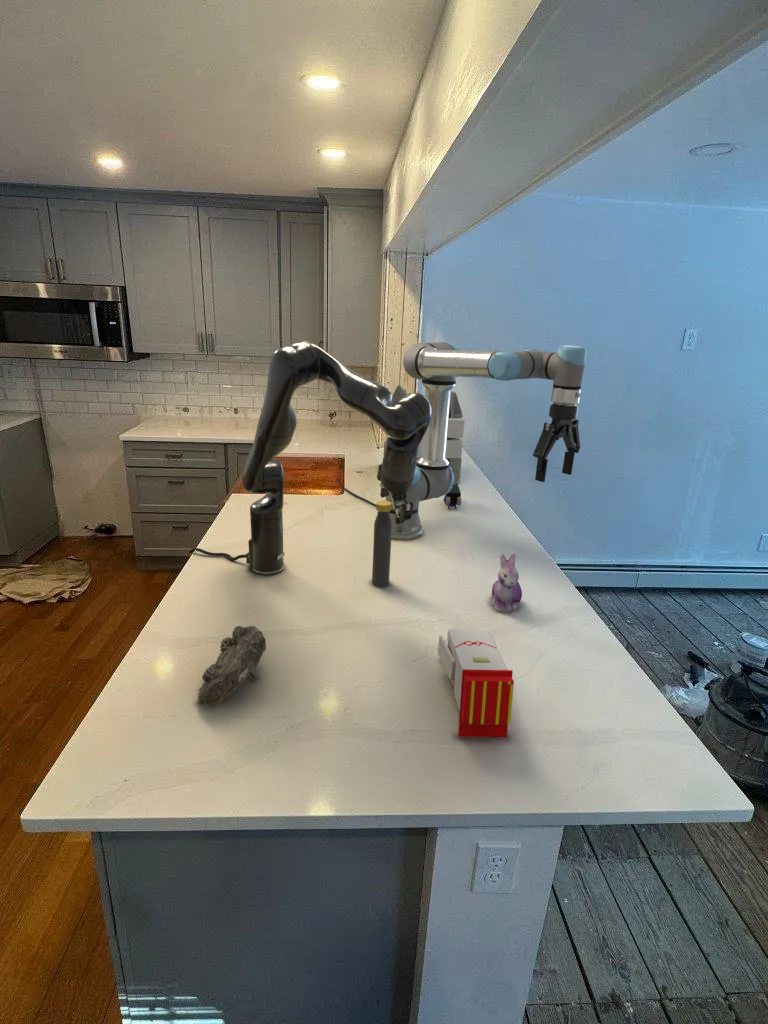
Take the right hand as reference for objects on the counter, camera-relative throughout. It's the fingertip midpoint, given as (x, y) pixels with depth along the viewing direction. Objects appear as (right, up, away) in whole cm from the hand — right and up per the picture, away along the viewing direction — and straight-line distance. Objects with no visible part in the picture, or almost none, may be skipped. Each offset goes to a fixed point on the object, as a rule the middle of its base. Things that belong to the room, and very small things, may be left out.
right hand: (553, 477), depth 165 cm
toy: (-31, -48, -46) cm, 73 cm away
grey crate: (-32, +9, +110) cm, 115 cm away
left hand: (-47, -9, -25) cm, 54 cm away
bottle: (-50, -31, -1) cm, 59 cm away
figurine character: (-22, -7, +67) cm, 71 cm away
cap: (-49, -8, -9) cm, 51 cm away
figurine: (-16, -35, -10) cm, 40 cm away
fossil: (-80, -45, -45) cm, 102 cm away
